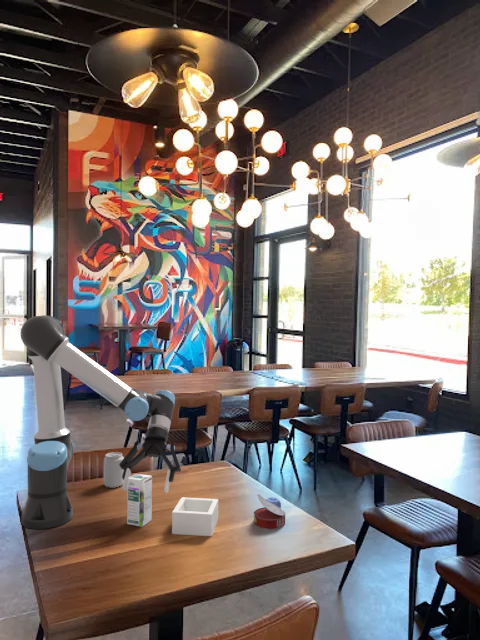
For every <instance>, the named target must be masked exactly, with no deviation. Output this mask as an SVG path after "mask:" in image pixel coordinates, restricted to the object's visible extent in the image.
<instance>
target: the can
mask: <svg viewBox="0 0 480 640" xmlns="http://www.w3.org/2000/svg"><path fill="white" fill-rule="evenodd" d="M124 458H125V456H123V453H122V452H119V451H115V452H114V451H113V452H108V453H106V454H105V457H103V485H104V486H105V487H106V488H108V487H109V489H116V487H117V488H119V486H120V487H121V486H123V482H124V480H123V478H122V475H123V471H124V470H123V469H121V467H120V465H119V464H120V463H121V461H122V460H123V459H124Z"/></svg>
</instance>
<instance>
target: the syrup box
mask: <svg viewBox="0 0 480 640" xmlns="http://www.w3.org/2000/svg"><path fill="white" fill-rule="evenodd" d="M152 490H153V475H149V474H141V473H135V474H131V475H130V477H129V478H128V487H127V491H126V492H127V501H126V502H127V513H126V514H127V515H126V516H127V517H126V524H127V525H132V526H135V527H140V528H143V527H144V526H146V525H147V524H148V523H150V522H151V521H152V515H153V514H152V511H153V509H152V506H153V505H152V504H153V503H152V502H153V501H152V500H153V491H152Z"/></svg>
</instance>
